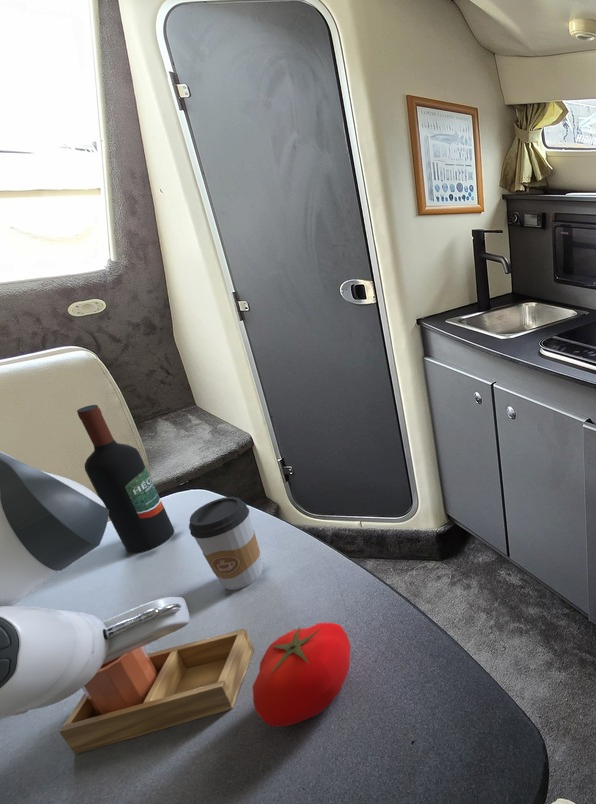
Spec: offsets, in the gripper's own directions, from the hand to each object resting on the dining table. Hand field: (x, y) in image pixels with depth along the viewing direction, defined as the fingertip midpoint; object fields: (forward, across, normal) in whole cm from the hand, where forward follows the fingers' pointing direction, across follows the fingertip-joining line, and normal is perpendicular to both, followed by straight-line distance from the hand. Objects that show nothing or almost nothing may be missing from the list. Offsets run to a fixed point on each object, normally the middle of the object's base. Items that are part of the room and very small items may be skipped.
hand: (98, 656), depth 62 cm
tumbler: (+10, 0, +7) cm, 12 cm away
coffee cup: (+23, -14, -6) cm, 28 cm away
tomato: (+1, -19, +17) cm, 26 cm away
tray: (+9, -4, +8) cm, 13 cm away
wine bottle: (+41, 0, -23) cm, 47 cm away
